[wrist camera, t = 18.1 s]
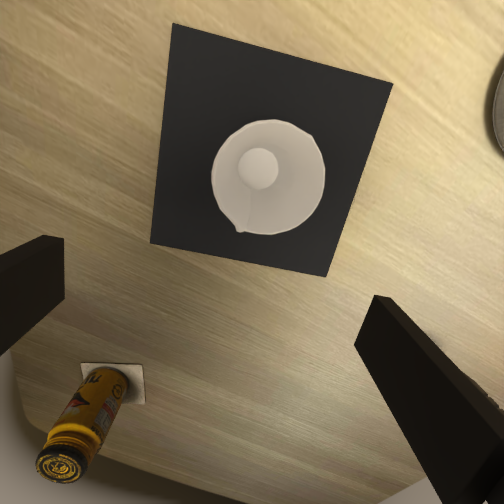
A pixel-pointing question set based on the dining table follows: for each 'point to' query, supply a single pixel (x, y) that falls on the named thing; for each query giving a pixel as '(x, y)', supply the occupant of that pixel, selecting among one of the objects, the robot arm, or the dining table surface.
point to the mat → (247, 111)
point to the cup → (268, 177)
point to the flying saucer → (499, 112)
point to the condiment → (88, 419)
